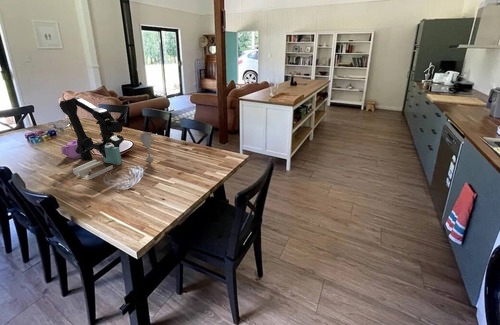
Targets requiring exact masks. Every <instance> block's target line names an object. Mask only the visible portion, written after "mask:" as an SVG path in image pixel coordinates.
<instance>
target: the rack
mask: <svg viewBox="0 0 500 325" xmlns="http://www.w3.org/2000/svg"><path fill="white" fill-rule="evenodd" d="M103 163H104V162H103V161H102V160H99V161H97V159H92V160H90V161H88V162H86V163H84V164H81V165H79V166H76V167H74V168H72V172H73V175H74V176H78V177H82V178H86V179H90V180H93V178H96V177H99V176H100V175H103V174H105V173H106V172H109V171H111V170H113V169H114V167H113V166H114V165H113V164H112V165H110V166H109V165H108V166H106V167H107V168H105V169H103V170H100V171H98V172H96V173H94V174H92V175H90V176H89V175H88V173H89V172H88V171H90V170H91V168H93V167H95V166H97V165H99V164H103ZM103 165H104V164H103Z"/></svg>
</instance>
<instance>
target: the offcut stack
mask: <svg viewBox="0 0 500 325" xmlns="http://www.w3.org/2000/svg"><path fill="white" fill-rule="evenodd" d="M107 167H108V166H105V164H99V165H97V166H95V167H93V168H91V170H90V171H88V172H89V173H88V175H89V176H90V175H92V174H94V173H96V172H98V171H100V170H103V169H105V168H107Z"/></svg>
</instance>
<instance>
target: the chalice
mask: <svg viewBox="0 0 500 325" xmlns="http://www.w3.org/2000/svg"><path fill="white" fill-rule="evenodd" d="M139 136H140V139H141V143H142V144H143V146H144V147H145V149H147V150H146V151H147V155H148V156H147V157H146V159H145V161H146V162H149V163H150V162H153V161H154V160H155V158H154V157H153V156H152V155H151V152H150V151H151V150H150V147H151V146H152V144H153V140H152V139H153V138H152V131H151V132H150V131H149V132H148V131H145V132H140V134H139Z"/></svg>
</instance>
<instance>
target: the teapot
mask: <svg viewBox="0 0 500 325" xmlns="http://www.w3.org/2000/svg"><path fill="white" fill-rule="evenodd" d="M88 137H89V138H90V137H91V136H88ZM77 147H78V145H77V139H73V140H71V141H69V142H67V143H66V144H65V145H63V146H61V147H60V148H61V154H62V155H64V156H67V157H68V158H69V159H73V160H74V159H80V158H81V155H80V154H78V153H76V151H75V150H76V149H77Z"/></svg>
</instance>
